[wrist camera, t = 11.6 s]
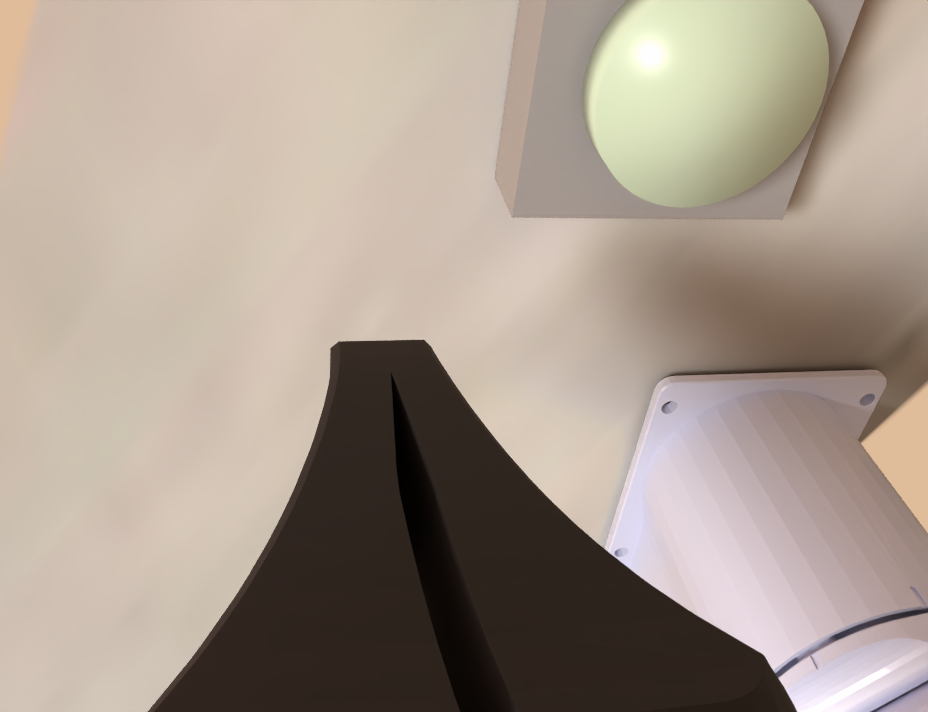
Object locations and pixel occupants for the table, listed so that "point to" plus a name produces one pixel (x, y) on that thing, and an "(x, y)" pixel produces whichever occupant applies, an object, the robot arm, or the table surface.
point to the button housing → (565, 135)
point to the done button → (703, 94)
